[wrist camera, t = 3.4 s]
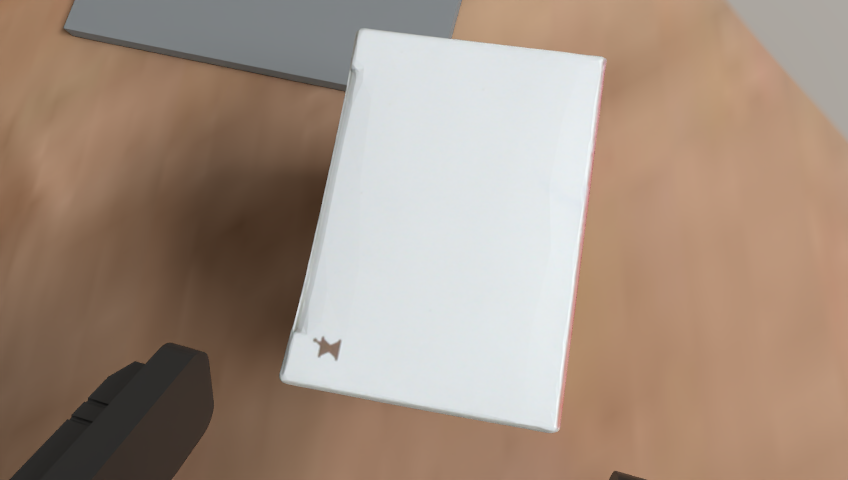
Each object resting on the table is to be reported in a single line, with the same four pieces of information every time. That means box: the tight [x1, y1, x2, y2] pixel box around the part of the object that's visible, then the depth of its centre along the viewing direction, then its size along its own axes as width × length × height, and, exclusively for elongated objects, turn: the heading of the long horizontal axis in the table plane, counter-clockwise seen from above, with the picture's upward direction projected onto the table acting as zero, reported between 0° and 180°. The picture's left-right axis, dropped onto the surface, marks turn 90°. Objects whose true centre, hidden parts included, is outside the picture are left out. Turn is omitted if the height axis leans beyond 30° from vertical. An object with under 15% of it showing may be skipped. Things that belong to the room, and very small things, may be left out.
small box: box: [279, 28, 606, 433], centre depth 17 cm, size 8×6×10 cm
